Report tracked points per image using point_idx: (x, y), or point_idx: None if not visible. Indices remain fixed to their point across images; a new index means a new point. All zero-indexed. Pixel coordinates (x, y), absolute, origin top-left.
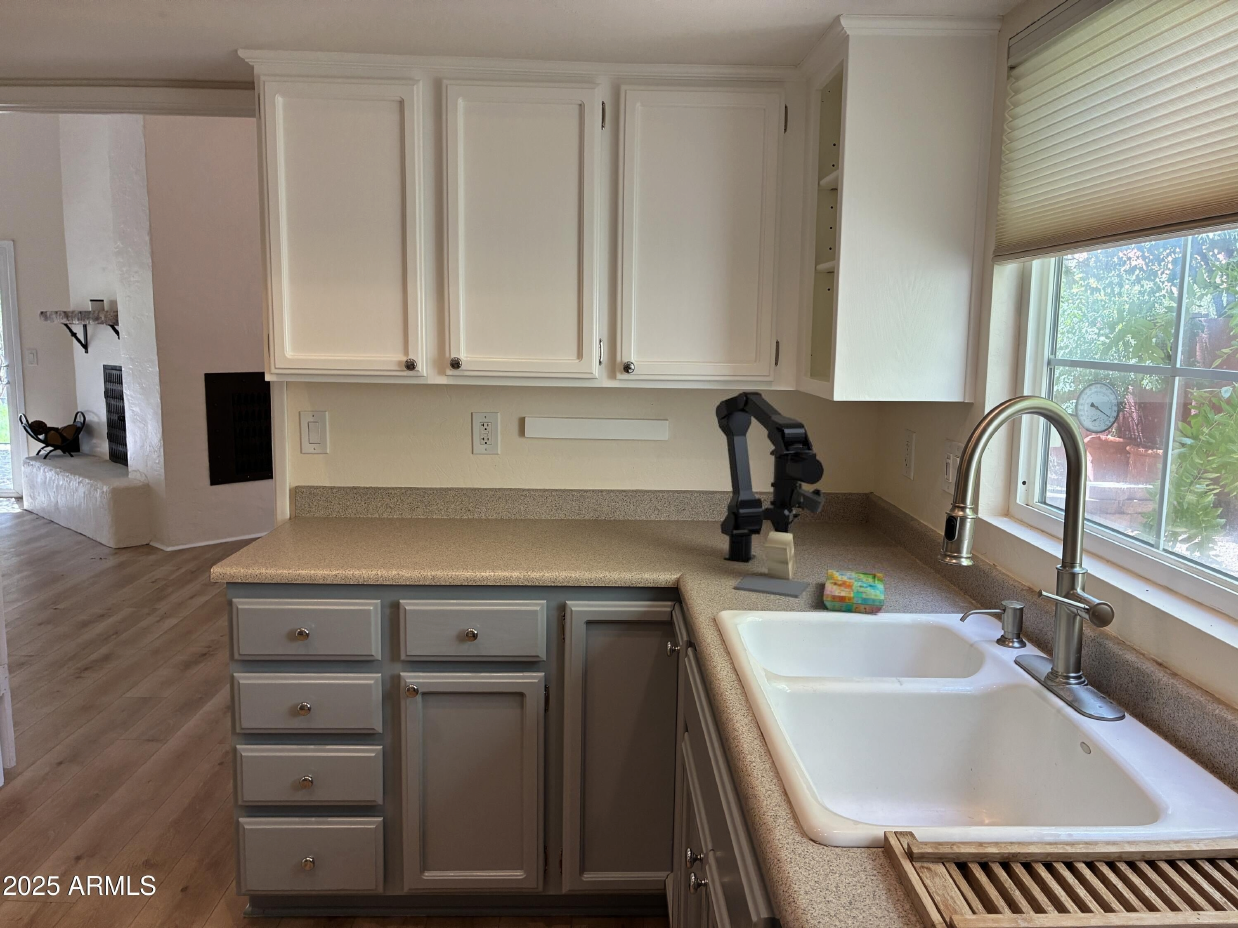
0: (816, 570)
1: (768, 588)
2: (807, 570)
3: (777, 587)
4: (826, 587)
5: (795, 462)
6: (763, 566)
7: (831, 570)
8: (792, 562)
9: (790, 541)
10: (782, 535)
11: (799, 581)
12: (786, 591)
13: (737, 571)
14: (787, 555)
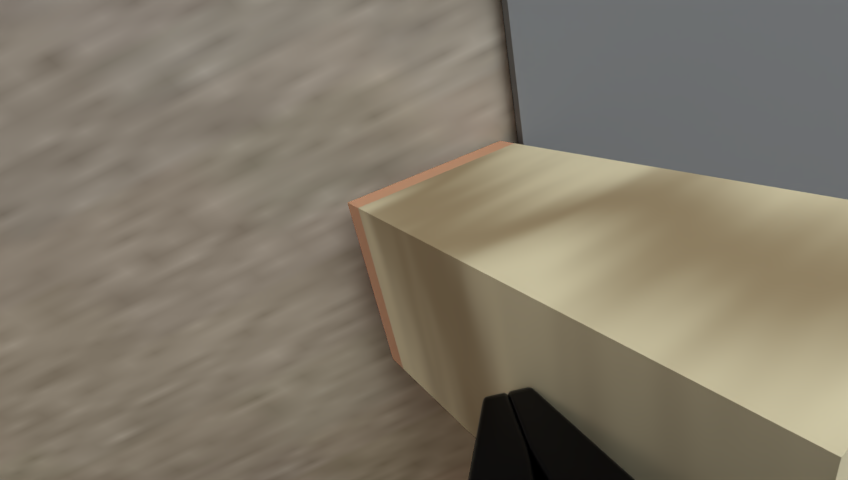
0: (2, 138)
1: (829, 154)
2: (76, 195)
3: (780, 115)
4: None
5: None
6: (249, 441)
7: None
8: (490, 201)
9: (837, 319)
10: None
11: (524, 56)
12: None
13: (462, 473)
14: (820, 196)
